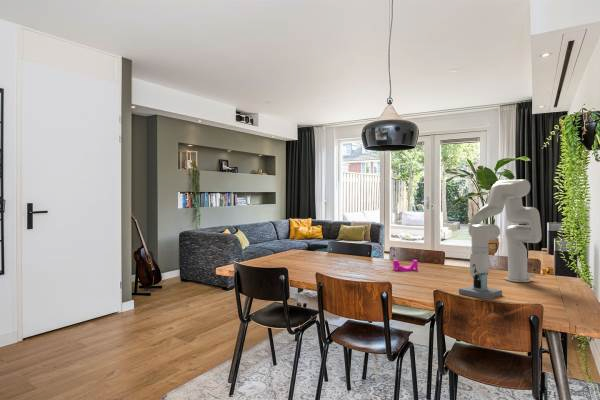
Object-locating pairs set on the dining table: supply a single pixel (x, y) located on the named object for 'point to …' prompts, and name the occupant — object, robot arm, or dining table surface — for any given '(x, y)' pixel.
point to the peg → (482, 283)
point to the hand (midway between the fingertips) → (480, 286)
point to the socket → (480, 292)
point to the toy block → (401, 268)
